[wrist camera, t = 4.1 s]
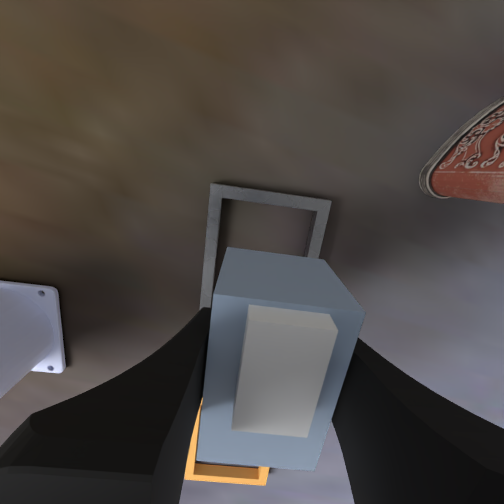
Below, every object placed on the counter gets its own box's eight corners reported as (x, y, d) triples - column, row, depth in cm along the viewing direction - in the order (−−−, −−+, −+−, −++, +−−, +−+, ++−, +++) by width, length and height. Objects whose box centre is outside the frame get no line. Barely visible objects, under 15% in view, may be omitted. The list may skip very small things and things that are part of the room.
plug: (213, 369, 14) (191, 486, 9) (227, 246, 12) (209, 308, 7) (295, 378, 14) (319, 497, 9) (324, 259, 12) (378, 328, 7)
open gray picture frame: (200, 316, 21) (198, 323, 20) (212, 182, 17) (210, 183, 16) (298, 327, 21) (300, 334, 20) (327, 199, 18) (331, 200, 17)
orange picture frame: (186, 468, 26) (184, 479, 25) (194, 387, 23) (191, 397, 22) (264, 474, 27) (265, 485, 26) (282, 396, 23) (283, 405, 22)
